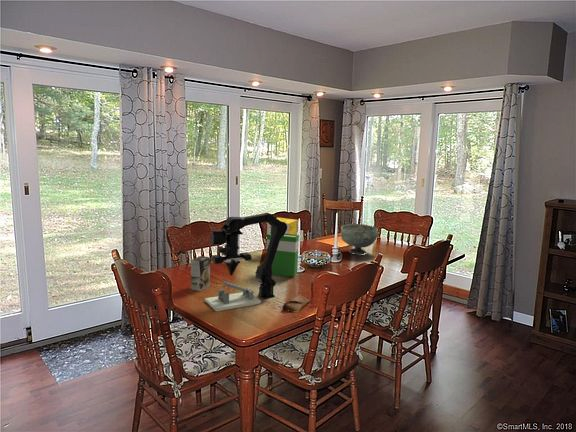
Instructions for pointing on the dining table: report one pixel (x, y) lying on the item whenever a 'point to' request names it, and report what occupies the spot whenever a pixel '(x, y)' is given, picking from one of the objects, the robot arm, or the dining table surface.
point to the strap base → (232, 300)
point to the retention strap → (236, 287)
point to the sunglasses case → (295, 303)
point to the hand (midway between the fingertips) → (231, 275)
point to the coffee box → (200, 273)
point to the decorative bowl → (358, 236)
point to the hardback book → (285, 255)
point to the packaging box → (291, 226)
